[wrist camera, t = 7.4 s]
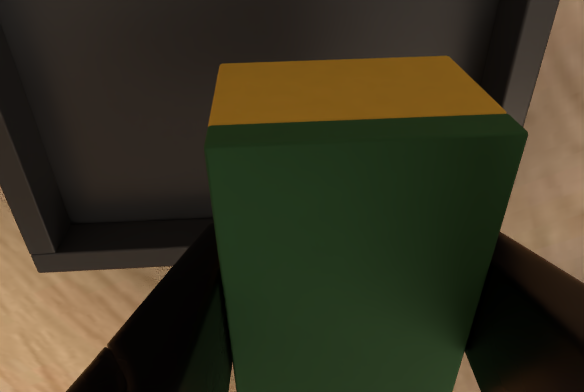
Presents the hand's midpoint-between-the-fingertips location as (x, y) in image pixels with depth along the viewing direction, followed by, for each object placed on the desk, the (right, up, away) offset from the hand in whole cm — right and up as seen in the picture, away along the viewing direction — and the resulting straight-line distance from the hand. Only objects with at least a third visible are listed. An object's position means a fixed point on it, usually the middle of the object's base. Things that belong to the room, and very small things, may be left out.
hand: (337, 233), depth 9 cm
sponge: (0, +1, +1) cm, 1 cm away
